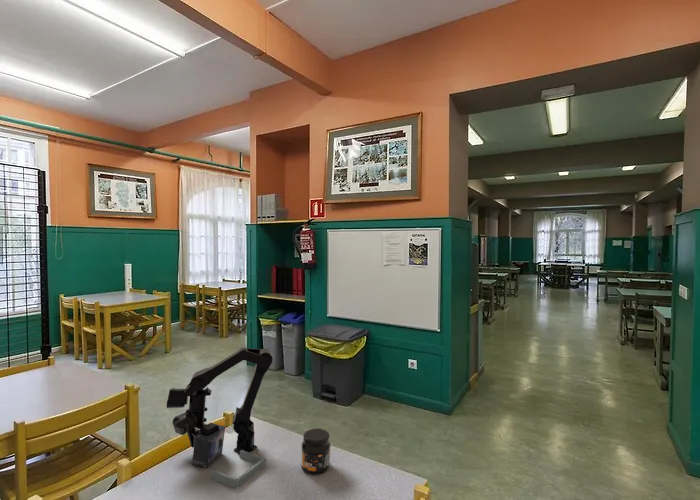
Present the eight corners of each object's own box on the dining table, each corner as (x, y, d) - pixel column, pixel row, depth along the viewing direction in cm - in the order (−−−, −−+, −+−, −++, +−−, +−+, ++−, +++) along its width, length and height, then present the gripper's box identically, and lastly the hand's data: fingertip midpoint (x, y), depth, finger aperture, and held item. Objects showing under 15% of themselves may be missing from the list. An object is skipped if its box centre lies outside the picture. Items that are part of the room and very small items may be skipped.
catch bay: (241, 456, 136) (241, 449, 136) (265, 465, 132) (266, 458, 132) (210, 478, 123) (211, 470, 123) (236, 488, 118) (237, 481, 118)
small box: (207, 469, 128) (210, 440, 127) (190, 464, 129) (193, 436, 129) (223, 452, 138) (226, 425, 138) (208, 448, 139) (211, 422, 139)
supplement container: (294, 468, 130) (295, 435, 130) (314, 456, 139) (315, 424, 139) (316, 480, 124) (317, 445, 124) (335, 466, 132) (336, 433, 132)
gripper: (161, 407, 133) (158, 449, 133) (197, 421, 125) (193, 466, 125) (186, 397, 143) (183, 436, 143) (221, 409, 135) (218, 451, 135)
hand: (194, 447), depth 137 cm, fingers closed, pressing on small box
